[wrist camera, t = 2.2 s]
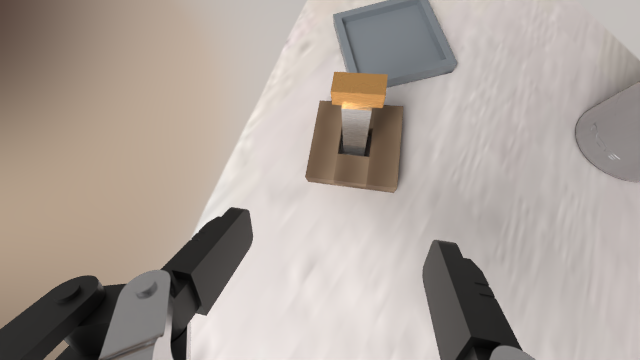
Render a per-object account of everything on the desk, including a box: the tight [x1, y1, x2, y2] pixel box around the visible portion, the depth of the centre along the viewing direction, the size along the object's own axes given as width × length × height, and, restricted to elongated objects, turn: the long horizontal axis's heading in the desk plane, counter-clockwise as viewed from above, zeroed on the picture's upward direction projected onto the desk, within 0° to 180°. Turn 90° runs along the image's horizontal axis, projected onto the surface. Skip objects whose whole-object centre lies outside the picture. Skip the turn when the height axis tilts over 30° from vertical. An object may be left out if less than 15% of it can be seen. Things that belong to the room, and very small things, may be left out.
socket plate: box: [305, 101, 403, 193], centre depth 27 cm, size 10×10×2 cm
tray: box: [333, 0, 457, 88], centre depth 31 cm, size 13×13×2 cm
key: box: [331, 72, 388, 156], centre depth 22 cm, size 4×2×12 cm, turn 80°
